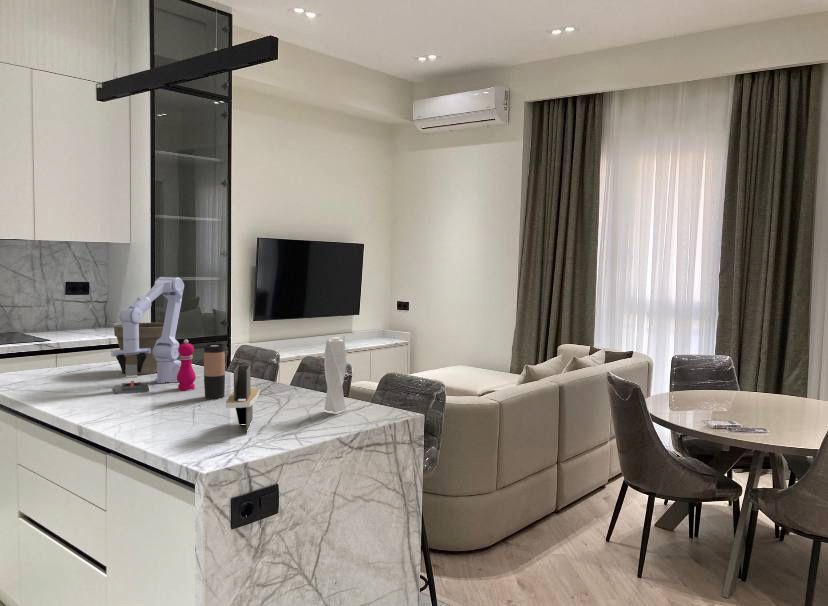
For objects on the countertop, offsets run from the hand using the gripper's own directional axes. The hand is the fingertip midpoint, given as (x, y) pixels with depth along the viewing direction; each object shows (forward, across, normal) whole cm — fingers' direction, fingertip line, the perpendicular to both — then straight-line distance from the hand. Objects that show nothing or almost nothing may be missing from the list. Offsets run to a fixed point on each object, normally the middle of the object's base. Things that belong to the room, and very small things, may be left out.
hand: (131, 373), depth 264 cm
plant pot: (+7, -17, -38) cm, 42 cm away
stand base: (+7, 0, 0) cm, 7 cm away
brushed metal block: (+2, 0, 0) cm, 2 cm away
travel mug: (+7, -21, +31) cm, 38 cm away
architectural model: (+7, -10, +78) cm, 79 cm away
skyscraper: (+7, -44, +78) cm, 90 cm away
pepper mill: (+7, -18, +10) cm, 22 cm away
